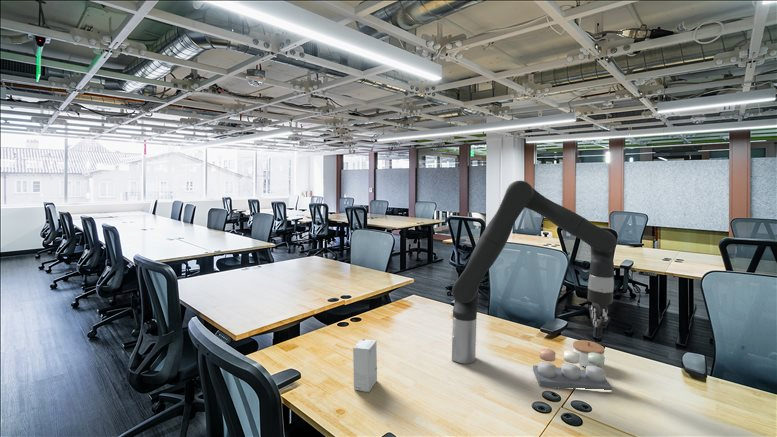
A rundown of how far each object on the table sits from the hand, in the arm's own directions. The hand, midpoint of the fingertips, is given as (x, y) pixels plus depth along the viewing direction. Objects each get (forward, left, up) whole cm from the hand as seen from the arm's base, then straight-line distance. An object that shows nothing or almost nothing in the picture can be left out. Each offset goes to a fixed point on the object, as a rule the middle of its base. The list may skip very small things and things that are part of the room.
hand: (597, 336), depth 127 cm
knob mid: (-8, 0, -9) cm, 12 cm away
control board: (-8, 0, -17) cm, 19 cm away
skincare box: (-79, -16, -17) cm, 82 cm away
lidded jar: (+2, +14, -17) cm, 22 cm away
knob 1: (-16, 0, -9) cm, 18 cm away
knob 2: (0, 0, -9) cm, 9 cm away
